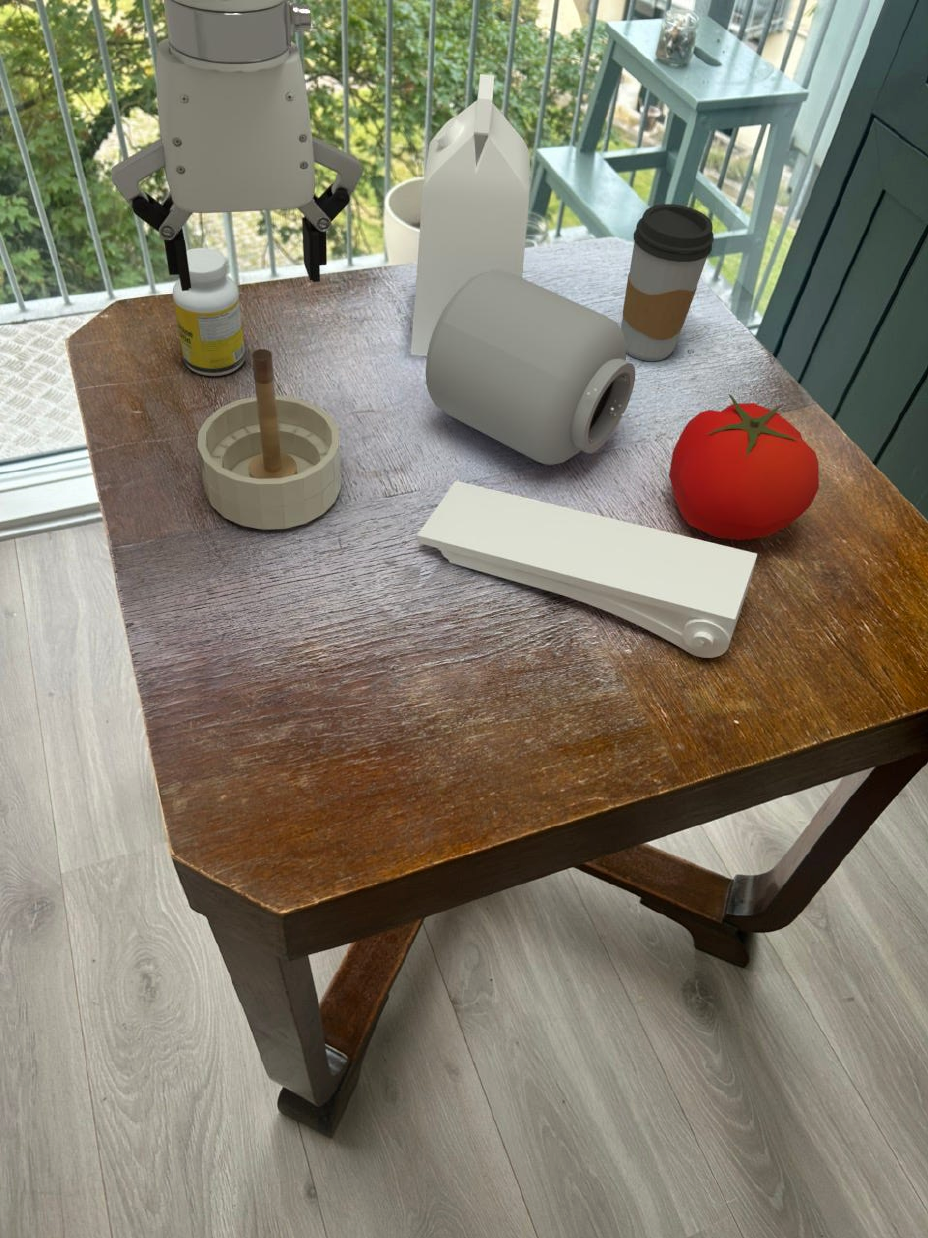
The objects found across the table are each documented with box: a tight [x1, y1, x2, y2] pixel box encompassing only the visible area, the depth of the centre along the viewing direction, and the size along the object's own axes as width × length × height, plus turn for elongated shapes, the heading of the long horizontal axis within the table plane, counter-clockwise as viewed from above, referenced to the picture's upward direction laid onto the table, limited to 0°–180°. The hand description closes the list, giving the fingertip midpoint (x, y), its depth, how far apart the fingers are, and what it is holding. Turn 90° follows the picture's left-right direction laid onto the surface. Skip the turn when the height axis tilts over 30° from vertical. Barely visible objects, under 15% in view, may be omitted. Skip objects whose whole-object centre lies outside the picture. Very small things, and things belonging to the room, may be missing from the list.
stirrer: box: [248, 348, 298, 479], centre depth 84 cm, size 4×4×14 cm
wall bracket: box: [416, 480, 758, 659], centre depth 84 cm, size 10×7×28 cm
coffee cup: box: [620, 203, 714, 362], centre depth 104 cm, size 8×8×15 cm
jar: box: [425, 270, 674, 466], centre depth 92 cm, size 19×15×25 cm
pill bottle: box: [172, 247, 246, 377], centre depth 97 cm, size 6×6×12 cm
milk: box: [410, 73, 531, 357], centre depth 100 cm, size 12×12×26 cm
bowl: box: [196, 394, 342, 531], centre depth 87 cm, size 12×12×6 cm
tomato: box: [668, 393, 820, 541], centre depth 87 cm, size 12×13×12 cm
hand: (249, 277), depth 73 cm, fingers open, 9 cm apart
